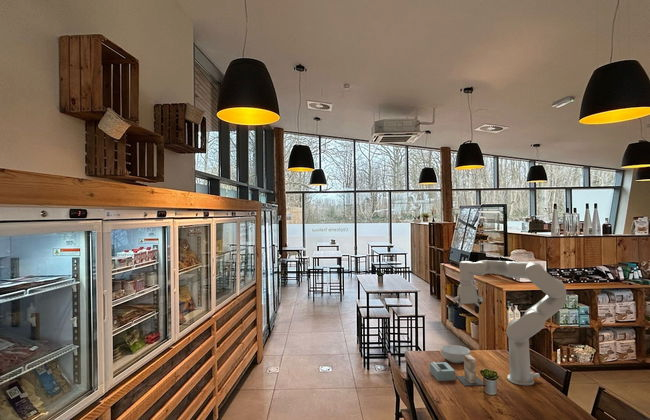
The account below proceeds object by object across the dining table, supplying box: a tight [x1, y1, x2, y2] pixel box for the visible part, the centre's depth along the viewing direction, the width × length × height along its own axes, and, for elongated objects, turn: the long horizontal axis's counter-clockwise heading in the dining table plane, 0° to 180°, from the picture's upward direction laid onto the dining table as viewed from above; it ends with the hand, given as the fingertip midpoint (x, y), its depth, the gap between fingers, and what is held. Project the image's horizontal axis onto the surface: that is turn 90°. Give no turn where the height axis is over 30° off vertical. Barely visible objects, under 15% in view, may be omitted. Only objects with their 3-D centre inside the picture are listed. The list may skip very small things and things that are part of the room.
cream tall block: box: [463, 354, 477, 383], centre depth 186 cm, size 3×6×12 cm, turn 3°
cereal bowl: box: [440, 344, 471, 364], centre depth 214 cm, size 17×17×7 cm
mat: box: [455, 375, 484, 387], centre depth 186 cm, size 11×11×1 cm
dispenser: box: [429, 361, 456, 382], centre depth 194 cm, size 9×12×6 cm
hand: (468, 313), depth 200 cm, fingers open, 9 cm apart
